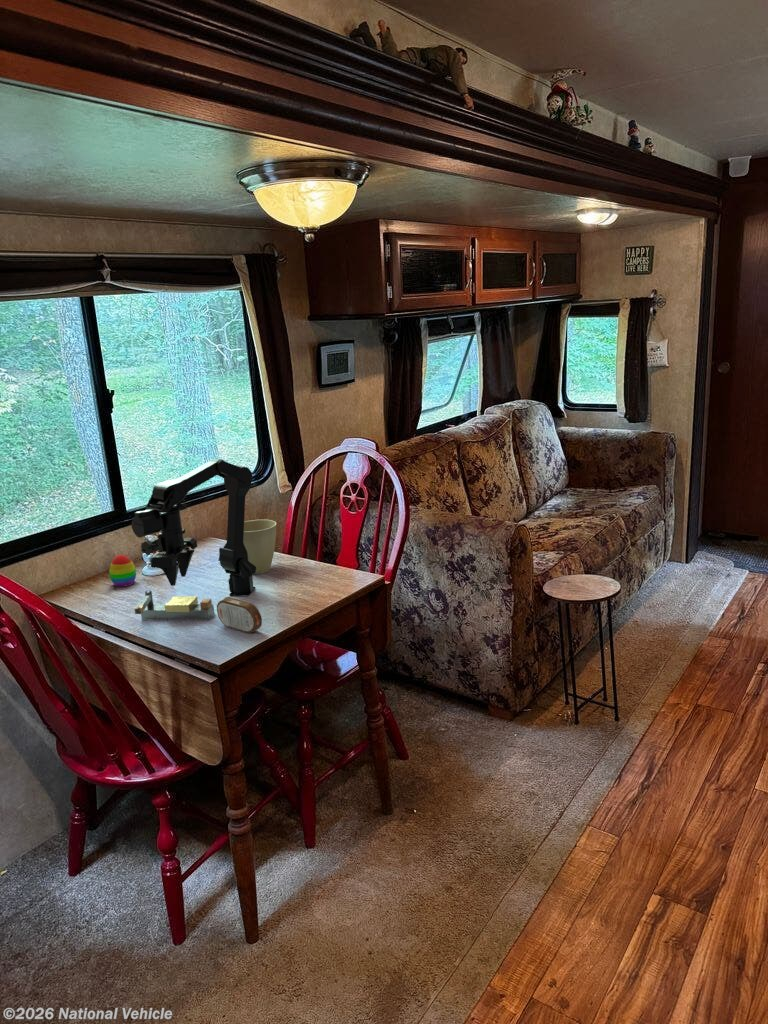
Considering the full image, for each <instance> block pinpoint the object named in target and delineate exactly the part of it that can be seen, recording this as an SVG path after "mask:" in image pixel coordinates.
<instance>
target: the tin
mask: <svg viewBox="0 0 768 1024" xmlns="http://www.w3.org/2000/svg"><path fill="white" fill-rule="evenodd" d="M216 611H217V616H218V619H219V620H220V622H221V623H222V625H224V626H225V627H226V628H230V629H233V630H236V631H240V632H243V633H246V634H251V633H254V632H255V631H257V630H259V629H260V628H261V626H262V624H263V618H262V615H261V612H260V610H259V609H258V607H257V606H256V605H255V604H254V603H252V602H250V601H248V600H247V601H246V600H243V599H240V598H235V597H233V596H226V597H225V598H223V599H222V600H219V602H218V603H217V604H216Z"/></svg>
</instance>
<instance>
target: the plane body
mask: <svg viewBox="0 0 768 1024" xmlns="http://www.w3.org/2000/svg"><path fill="white" fill-rule="evenodd" d="M165 604H166V603H164V604H163V603H160V604H159V603H158V604H156V603H153V605H154V607H152V608H147V606H146V608H145V609H144V611H143V613H142V614H140V615H141V621H210V620H211V618H213V616H214V615H215V606H214V604H213V602H212V598H203V599H202V600H201V601H200V602H199V603H197V604H196V605H195V606H194V607H193V609H192V610H191V611H190V612H166V611H165Z"/></svg>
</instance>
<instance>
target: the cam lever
mask: <svg viewBox="0 0 768 1024" xmlns="http://www.w3.org/2000/svg"><path fill="white" fill-rule="evenodd" d="M152 592H153V591H152V590H146V591H144V596H143V597H142V599H141V600H140V601H139V602H138V604H137V605H136V606H135V607H134V615H141V614H142V613H143V611H144V609H145V608H146V606H147V608H152V607H154V605H153V604H154V598H153V593H152Z"/></svg>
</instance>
